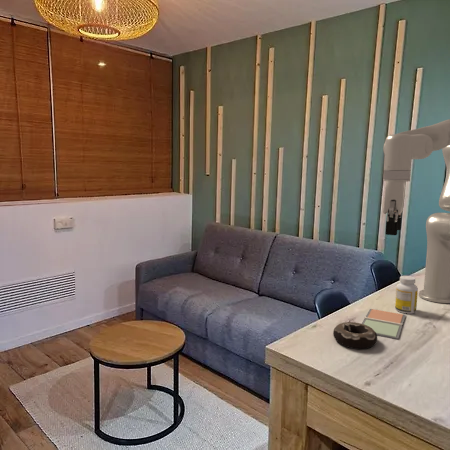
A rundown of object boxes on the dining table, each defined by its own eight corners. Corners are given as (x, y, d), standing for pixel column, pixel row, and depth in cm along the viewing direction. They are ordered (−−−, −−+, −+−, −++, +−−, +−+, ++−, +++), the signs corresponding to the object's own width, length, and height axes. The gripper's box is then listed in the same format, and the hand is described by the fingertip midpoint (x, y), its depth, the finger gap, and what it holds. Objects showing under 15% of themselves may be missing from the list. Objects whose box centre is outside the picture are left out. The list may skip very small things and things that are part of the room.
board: (370, 309, 133) (370, 307, 133) (405, 316, 128) (405, 313, 127) (357, 331, 116) (358, 328, 116) (398, 339, 110) (398, 336, 110)
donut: (381, 339, 111) (381, 325, 111) (371, 355, 102) (372, 341, 101) (340, 329, 118) (340, 316, 117) (327, 344, 108) (327, 330, 107)
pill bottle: (411, 307, 135) (414, 275, 133) (419, 314, 129) (421, 280, 127) (392, 307, 136) (394, 274, 134) (398, 314, 129) (401, 280, 128)
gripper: (387, 175, 127) (384, 227, 130) (379, 177, 112) (375, 235, 115) (412, 175, 124) (409, 229, 126) (407, 177, 109) (403, 238, 111)
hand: (393, 232), depth 121 cm, fingers open, 9 cm apart
